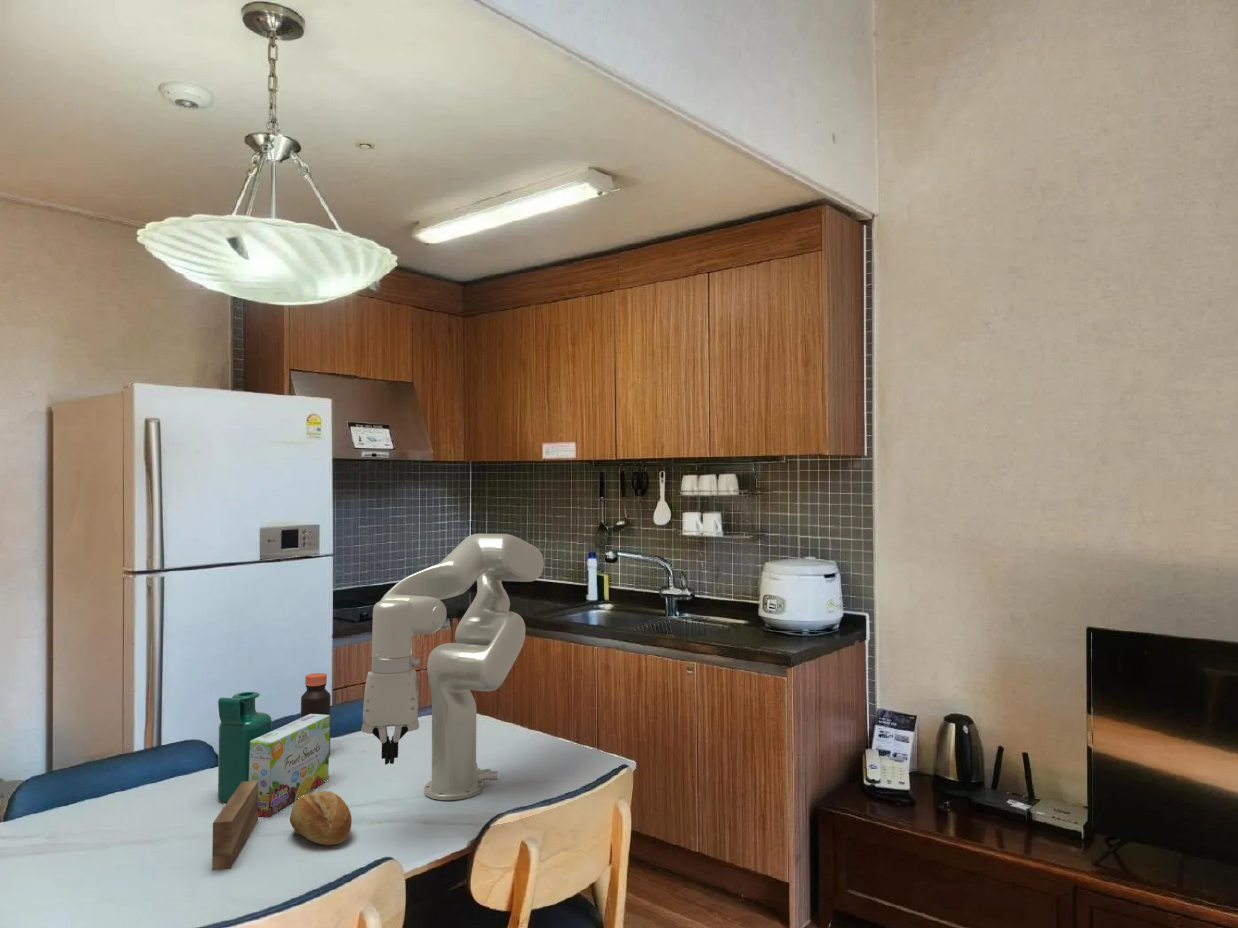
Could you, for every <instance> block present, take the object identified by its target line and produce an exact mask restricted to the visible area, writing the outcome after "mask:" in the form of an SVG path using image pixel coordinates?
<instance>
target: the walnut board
mask: <svg viewBox="0 0 1238 928" xmlns="http://www.w3.org/2000/svg"><path fill="white" fill-rule="evenodd" d="M258 817H259V816H258V780H257V781H244V782H241V784H240V785H239V786H238V788H237V789H236V791H235V792H234V794H233V795H232V796H231V798H230V799H229V801H228V802H227V803H226V804H225V805H224V806H223V808H222V809H221V810H220V812H219V813H218V815H217V816H216V818H215V819H214V821H213V822H212V852H211V854H212V855H211V856H212V859H211V862H212V863H211V871H217V870H226V869H229V870H230V869H232V868H233V865H234V864H235V862H236V860H237V858H238V857H239V855H240V853H241V852H242V850H243V848H244V846H245V845H246V843H247V841H248V839H249V838H250V836H251V834H252V832H253V831H254V829H255V827H256V825H257V824H258V822H257V821H258V819H259V818H258ZM256 823H257V824H256ZM254 826H255V827H254ZM253 828H254V829H253Z"/></svg>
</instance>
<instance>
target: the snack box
mask: <svg viewBox="0 0 1238 928" xmlns="http://www.w3.org/2000/svg"><path fill="white" fill-rule="evenodd" d="M329 735H330V736H331V714H330V715H322V714H309V715H307V716H304V717H302V718H301V717H300V718H297V719H295V720H293V721H291V722H288V723H286V724H285V725H282V726H281V727H278V728H276V729H273V730H272V731H271V732H269V733H267V734H264V735H262V736H260V737H258V738H256V739H253V740H251V741H250V759H249V781H257V780H258V817H261V816H262V818H269V817H271V816H273V815H275V814H276V813H278V812H279V811H281V810H283V809H285V808H286V807H288V806H289V805H291V804H292V802H293V803H295V802H296V801H297V799H298V798H300V797H301V796H303V795H305V794H307V793H308V792H309V793H311V792H312V791H314V790H315V789H314V788H316V789H317V788H319V787H321V786H322V785H323V784H322V783H324V782H325V781H327V780H328V781H329V770H330V769H329V766H330V765H329V764H330V762H329V761H330V760H329V759H330V755H329ZM328 781H327V782H328ZM321 784H322V785H321ZM324 784H325V783H324ZM320 785H321V786H320ZM318 786H319V787H318ZM313 789H314V790H313ZM311 790H312V791H311ZM310 791H311V792H310ZM295 800H296V801H295ZM290 803H291V804H290ZM288 804H289V805H288ZM287 805H288V806H287ZM285 806H286V807H285ZM277 811H278V812H277ZM274 813H275V814H274Z"/></svg>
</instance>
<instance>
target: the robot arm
mask: <svg viewBox="0 0 1238 928" xmlns="http://www.w3.org/2000/svg"><path fill="white" fill-rule="evenodd" d="M544 563H545V561H544V556H543V553H541V551H540V550H539V548H537V546H535V545H533V544H531V543H529V542H527V541H525V540H523V539H522V538H520V537H517V536H514V535H512V534H508V533H474V534H471V535H468V536H466V538H465V539H463V540H462V541H461V542H460V543H459V544H458V545H457V546H456V547H455V548H453V550H452V551H451V552H450V553H449V554H447V555H446V557H444V558H443V559H442V560H441V561H440V562H439V563H437V564H434V565H432V566H429V567H427V568H425V569H422V570H420V571H418V572H415V573H413V574H411V575H409V576H407V577H405V578H403V579H401V580H400V581H398V582H397V583H395V585H394V586H392V587H391V588H390V589H389V590H388V591H387V592H386V593H385V594H384V595H383V596H382V598H381V599H380V600H379V601H378V602H376V603H375V604H374V606H373V608H372V632H371V634H372V636H371V641H372V642H371V671H368V672H367V675H366V681H365V685H364V686H365V687H364V693H363V695H364V696H363V706H362V707H363V709H362V724H361V728H360V729H361V732H362V733H366V734H369V735H370V734H372V735H374V736H375V737H376V738H377V739H378V740H379V741H380V743H381V759H384V765H389V764H391V765H393V764H394V763H395V759H397V758H398V757H399V742H400V740H401V739H402V738H403V737H404V736H405V735H406V734H407V733H409V732H413V731H417V730H419V728H420V723H419V718H418V716H419V685H418V676H417V672H416V670H415V669H413V668H414V667H416V666H420V659H421V658H420V657H414V656H413V636H414V635H430V634H434V633H436V632H438V631H439V630H440V629H441V628H443V626H444V624H445V622H446V620H447V616H448V615H447V607H446V605H445V604H444V602H443V601H442V600H446V599H450V598H453V597H457V596H460V595H463V594H465V593H466V592H467V591H468V590H469V589H470V588H471V587H472V585H474V584H475V582H476V586H477V587H476V589H477V593H476V595H475V597H474V599H473V601H472V602H471V603H470V605H469V606H468V608H467V610H466V612H465V613H464V614H463V616H462V618H461V620H459V623H458V625H457V626H456V629H455V633H454V638H455V639H454V640H455V642H447V643H443V644H439V645H438V646H436V647H434V648H433V649H432V650H431V652H430V654H429V656H428V659H427V665H426V668H427V677H428V681H429V687H430V692H431V780H430V781H427V783H426V784H425V785H424V786H423V787H424V788H423V791H424V794H425V796H426V797H428V798H430V799H433V800H439V801H458V800H465V799H468V798H471V797H475V796H476V795H478V794H480V793H481V792H482V791H483V789H484V781H488V782H489V781H498V770H492V768H485V769H481V768H479V766H478V762H477V704H476V700H475V698H474V696H473V694H472V692H471V691H479V692H493V691H496V690H498V689H499V688H500V687H501V685H503V683H504V681H505V680H506V678H507V677H508V674H509V673H510V672H511V669H512V667H513V665H514V664H515V661H516V660H517V658H518V656H519V654H520V652H521V651H522V648H523V647H524V643H525V639H526V629H527V628H526V624H525V621H524V619H523V617H522V616H521V615H520V614H518V613H517V612H514V611H511V610H510V606H511V601H510V598H509V595H508V593H507V591H506V589H505V588H504V586H503V584H502V583H503V581H504V582H522V583H523V582H524V583H526V582H527V583H529V582H531V583H532V582H534V581H536V580H537V579H539V578H540V577H541V575H542V574H543V571H544V566H545V564H544ZM388 727H394V731H393V735H392V736H391V739H390V736H389V735H388V730H387V729H388Z"/></svg>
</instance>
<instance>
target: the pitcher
mask: <svg viewBox="0 0 1238 928" xmlns="http://www.w3.org/2000/svg"><path fill="white" fill-rule="evenodd" d="M260 696H261V695H260V692H257V691H245V692H244V691H242V692H239V693H235V694H234V695H232V697H220V698H218V700H217V703H218V705H217V706H218V716H219V720H220V723H219V725H218V762H217V763H218V765H217V767H218V768H217V770H218V772H217V800H218V801H219V803H227V802H228V801H229V799H230V798H231V796H232V795H233V794H234V792H235V791H236V789H237V788H238V786H239V785H240V784H241V782H244V781H249V759H250V741H251V740H253V739H256V738H258V737H260V736H262V735H264V734H267V733H269V732H271V731H273V730H272V725H273V724H272V723H273V722H272V718H271V716H270V714H269V713H266V712H260V711H257V710H256V699H257V698H259V697H260Z"/></svg>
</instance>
